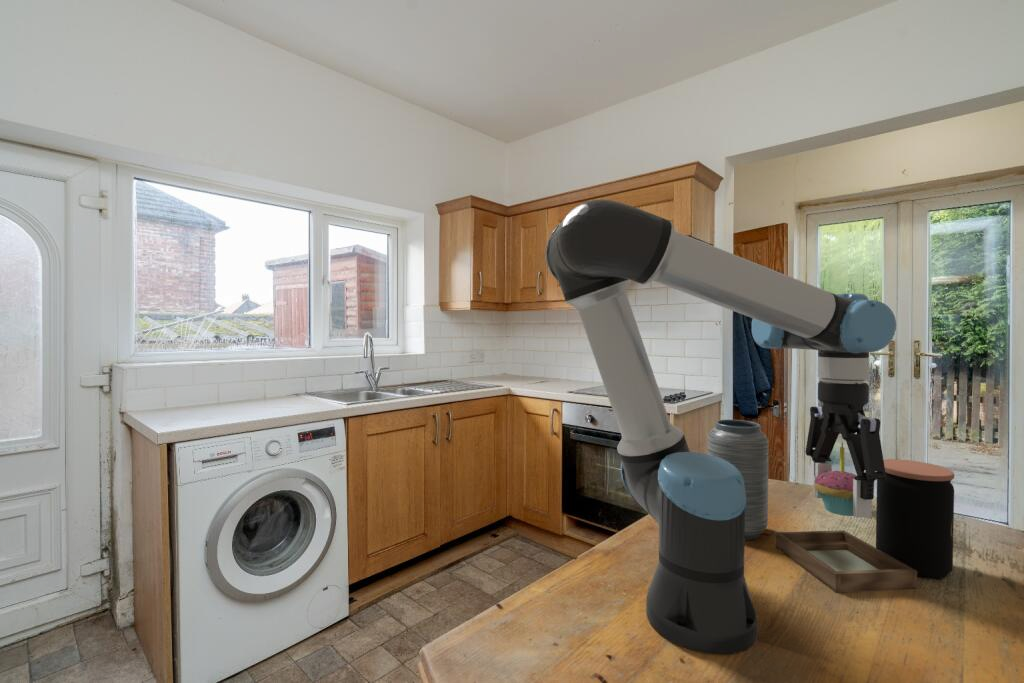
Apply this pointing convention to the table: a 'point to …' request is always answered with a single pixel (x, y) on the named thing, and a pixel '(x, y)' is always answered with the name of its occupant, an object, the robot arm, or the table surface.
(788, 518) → the table surface
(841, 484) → the cupcake
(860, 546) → the walled box
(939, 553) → the coffee jar
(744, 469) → the vase
